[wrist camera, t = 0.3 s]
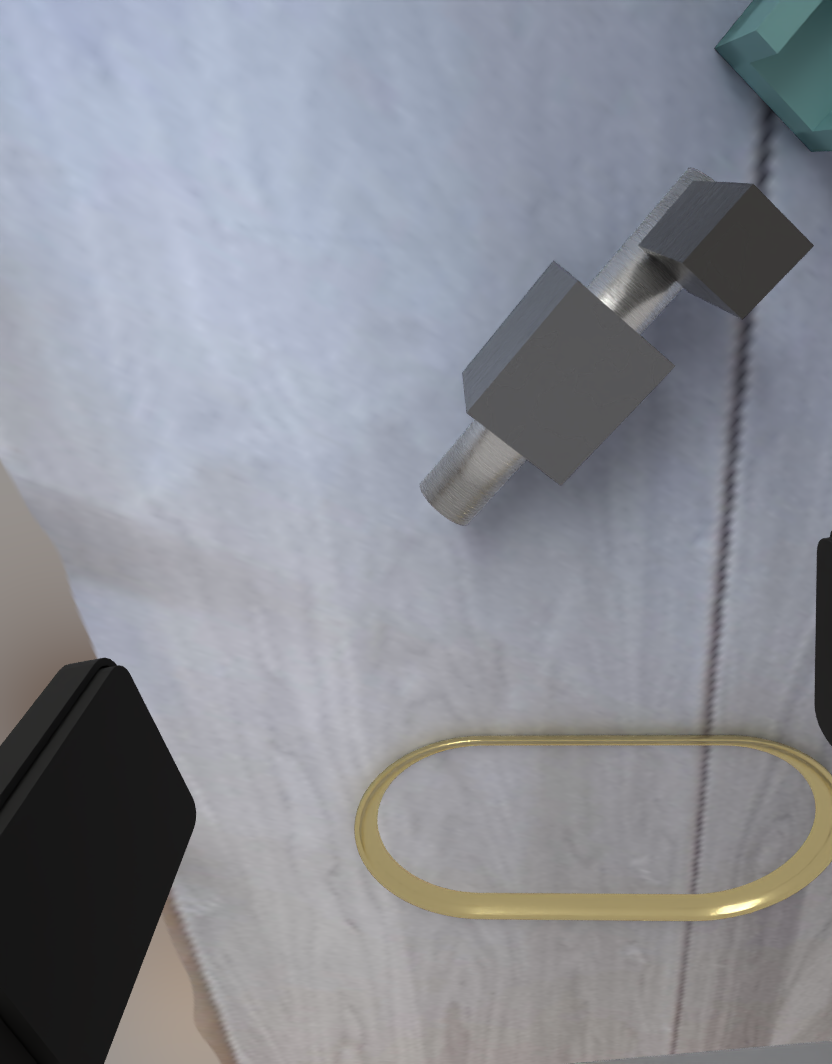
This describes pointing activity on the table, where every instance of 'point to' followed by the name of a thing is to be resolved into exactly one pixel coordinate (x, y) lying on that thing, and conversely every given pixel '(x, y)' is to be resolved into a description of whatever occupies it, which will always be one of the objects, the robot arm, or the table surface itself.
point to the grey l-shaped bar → (649, 301)
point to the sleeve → (560, 375)
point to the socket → (788, 63)
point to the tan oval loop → (819, 849)
